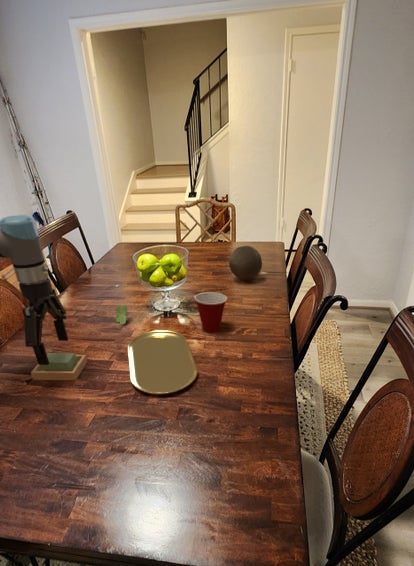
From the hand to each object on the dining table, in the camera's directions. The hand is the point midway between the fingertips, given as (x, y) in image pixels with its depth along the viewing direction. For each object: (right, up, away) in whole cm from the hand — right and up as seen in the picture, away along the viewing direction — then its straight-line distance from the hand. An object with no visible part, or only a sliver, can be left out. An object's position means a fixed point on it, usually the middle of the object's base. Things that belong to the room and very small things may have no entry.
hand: (54, 351), depth 106 cm
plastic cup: (+46, +8, +22) cm, 51 cm away
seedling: (+16, +13, +33) cm, 39 cm away
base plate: (+1, -6, +3) cm, 7 cm away
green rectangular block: (+1, -5, +3) cm, 6 cm away
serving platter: (+30, -3, +5) cm, 31 cm away
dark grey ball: (+61, +32, +60) cm, 91 cm away
